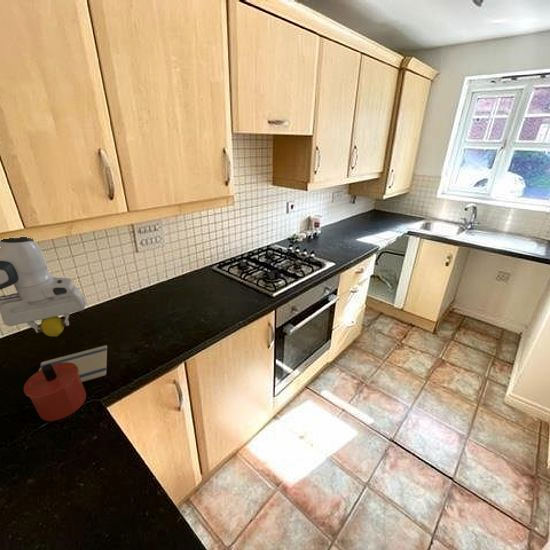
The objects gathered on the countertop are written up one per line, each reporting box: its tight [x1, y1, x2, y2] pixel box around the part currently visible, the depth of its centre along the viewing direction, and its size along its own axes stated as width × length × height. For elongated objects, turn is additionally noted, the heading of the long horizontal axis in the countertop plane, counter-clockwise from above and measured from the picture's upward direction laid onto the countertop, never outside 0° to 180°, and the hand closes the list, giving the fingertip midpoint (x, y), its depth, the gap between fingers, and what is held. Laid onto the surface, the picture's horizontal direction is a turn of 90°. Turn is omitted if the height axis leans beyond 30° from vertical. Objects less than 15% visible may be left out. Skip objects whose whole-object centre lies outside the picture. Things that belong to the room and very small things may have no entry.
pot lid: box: [23, 362, 78, 398], centre depth 83 cm, size 13×13×5 cm
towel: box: [38, 344, 108, 383], centre depth 100 cm, size 20×16×1 cm
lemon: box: [40, 316, 65, 337], centre depth 93 cm, size 6×6×8 cm
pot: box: [29, 374, 87, 422], centre depth 86 cm, size 12×12×10 cm
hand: (53, 328), depth 93 cm, fingers closed on lemon, 5 cm apart
